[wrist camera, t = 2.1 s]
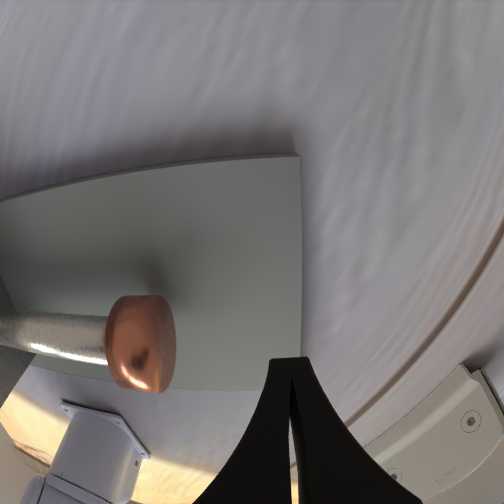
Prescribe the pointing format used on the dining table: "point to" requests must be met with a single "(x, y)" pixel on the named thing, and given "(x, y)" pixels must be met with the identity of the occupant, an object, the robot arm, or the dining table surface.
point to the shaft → (104, 339)
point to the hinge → (443, 434)
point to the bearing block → (10, 355)
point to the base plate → (170, 259)
